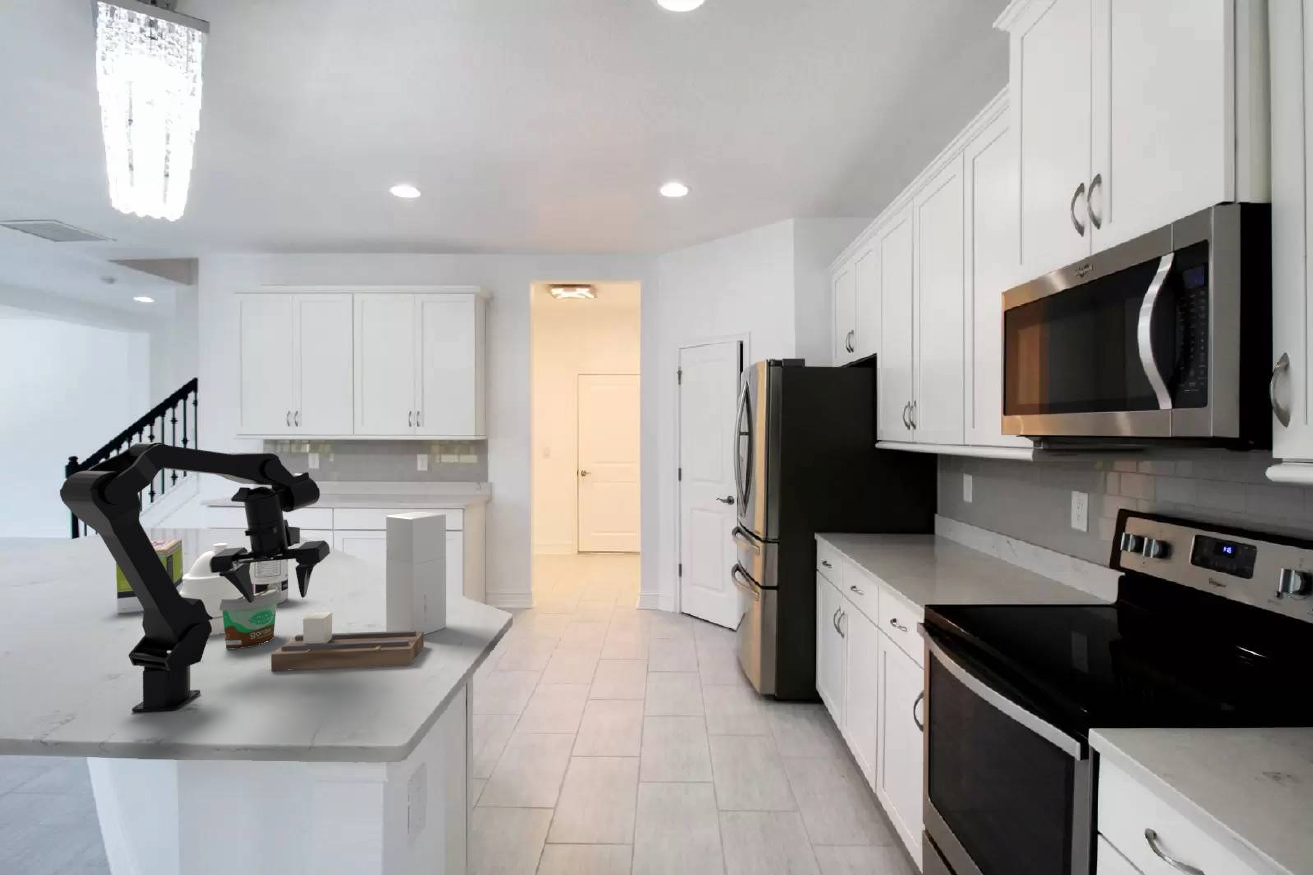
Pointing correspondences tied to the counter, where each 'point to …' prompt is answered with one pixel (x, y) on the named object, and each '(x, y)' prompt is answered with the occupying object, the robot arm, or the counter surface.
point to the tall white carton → (416, 572)
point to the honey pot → (209, 588)
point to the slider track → (350, 651)
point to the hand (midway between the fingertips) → (278, 599)
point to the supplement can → (270, 576)
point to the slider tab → (317, 628)
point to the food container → (250, 618)
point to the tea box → (173, 564)
